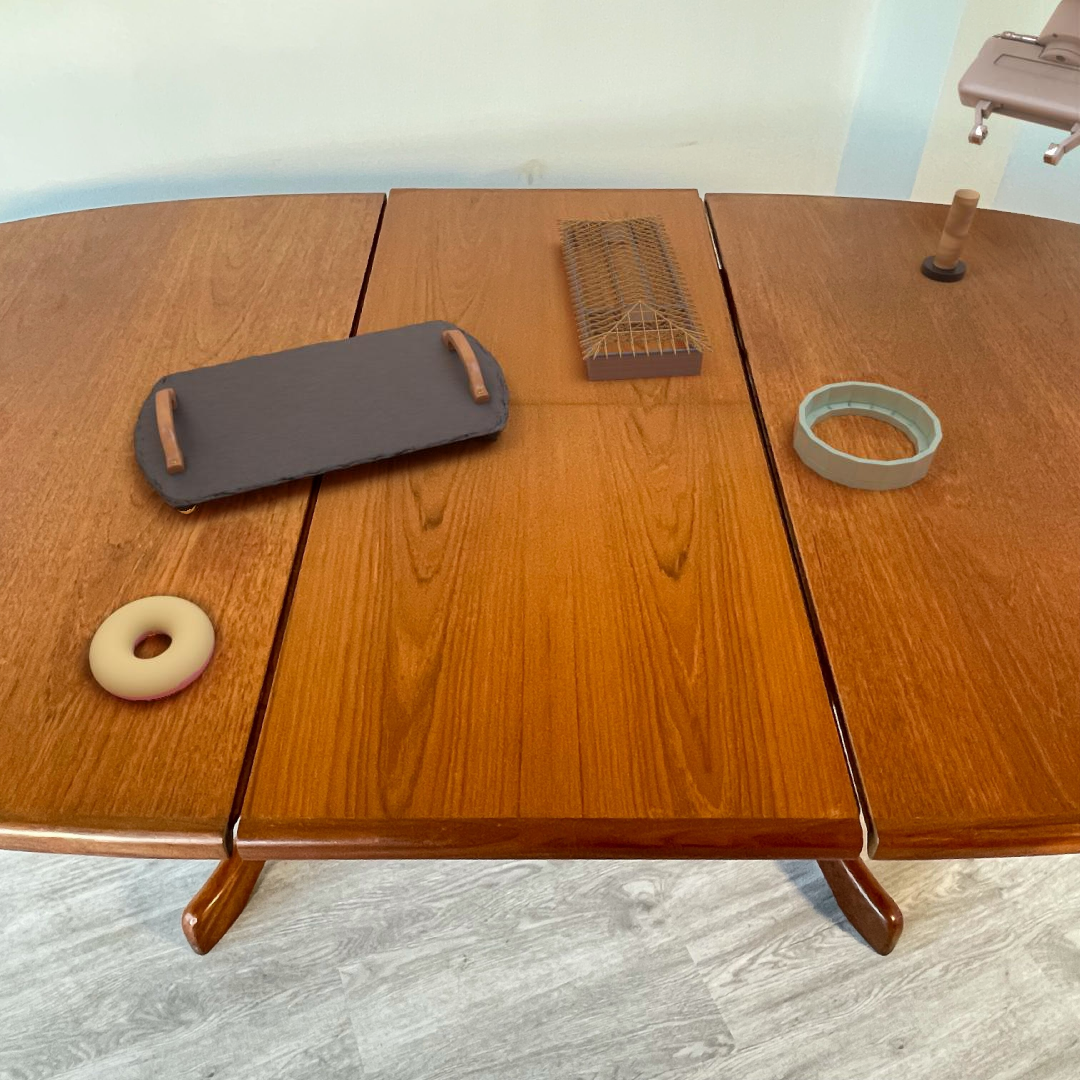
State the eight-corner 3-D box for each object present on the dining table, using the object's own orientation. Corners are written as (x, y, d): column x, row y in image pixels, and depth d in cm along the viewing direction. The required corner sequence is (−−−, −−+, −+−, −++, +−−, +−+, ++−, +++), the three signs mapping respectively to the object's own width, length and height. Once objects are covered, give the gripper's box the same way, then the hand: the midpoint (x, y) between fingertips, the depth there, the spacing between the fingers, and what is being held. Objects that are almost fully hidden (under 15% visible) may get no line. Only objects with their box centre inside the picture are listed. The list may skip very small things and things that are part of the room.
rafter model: (709, 378, 99) (716, 330, 95) (582, 385, 98) (583, 337, 94) (658, 238, 124) (661, 195, 120) (556, 243, 123) (556, 200, 119)
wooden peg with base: (956, 278, 114) (987, 186, 106) (961, 297, 111) (994, 204, 102) (914, 274, 115) (942, 183, 107) (918, 294, 111) (947, 201, 103)
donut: (197, 618, 78) (84, 657, 73) (186, 575, 75) (68, 612, 71) (236, 679, 71) (114, 727, 66) (226, 634, 68) (98, 680, 64)
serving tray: (146, 536, 82) (123, 486, 78) (138, 401, 98) (118, 353, 93) (535, 442, 91) (533, 392, 87) (470, 332, 107) (466, 285, 102)
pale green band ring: (919, 428, 92) (933, 388, 88) (933, 512, 82) (950, 471, 79) (789, 415, 94) (798, 375, 90) (789, 496, 85) (799, 455, 81)
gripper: (991, 12, 108) (928, 116, 110) (1168, 45, 97) (1095, 160, 99) (995, 44, 113) (935, 143, 115) (1164, 79, 103) (1094, 187, 105)
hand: (1010, 151), depth 107 cm, fingers open, 8 cm apart
